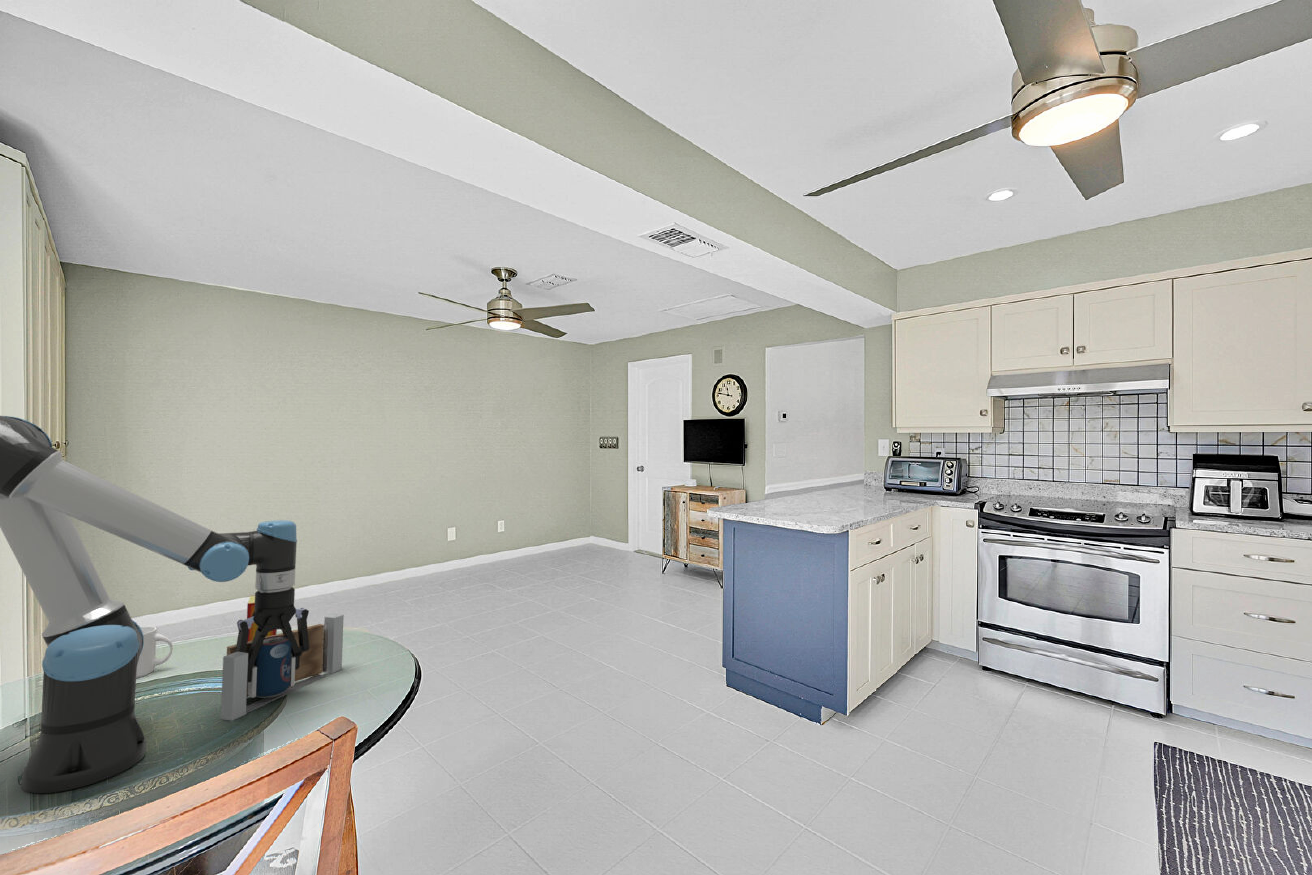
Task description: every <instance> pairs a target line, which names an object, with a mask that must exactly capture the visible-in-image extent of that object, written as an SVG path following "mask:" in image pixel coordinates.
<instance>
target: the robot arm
mask: <svg viewBox="0 0 1312 875" xmlns="http://www.w3.org/2000/svg"><path fill="white" fill-rule="evenodd" d="M72 518H73V519H76V520H77V521H80V522H83V523H85V524H87V525H90V526H92V527H95V528H96V529H97V528H98V529H99V530H102V531H104V532H107V533H109V534H111V535H112V536H113V535H114V536H116V537H119V538H120V539H123V540H126V541H128V542H130V543H133V544H135V545H137V546H139V547H142V548H144V549H147V550H149V551H151V552H153V553H156V554H159V555H161V556H163V557H165V558H168V559H170V560H172V561H175V562H177V563H179V564H181V565H184V566H185V567H187V569H188V570H190V571H196V572H199V573H201V575H203V576H204V577H205V578H206V579H209V580H210V581H212V582H216V583H225V582H230V581H233V580H235V579H237V578H239V577H241V575H243V574H244V573H245V571H247V570H246V569H247V568H248V566H253V565H254V566H255V567H256V569H255V584H254V586H255V590H257V591H255V593H254V596H255V611H254V613H253V615H252V617H251V618H248V619H247V618H246V619H238V621H237V622H236V625H237V629H238V634H237V640H236V644H235V645H236V650H235V652H243V653H246V648H247V642H248V636H249V629H250V628H251V625H252V623H253V622H254V623H255V624H256V625H257V626H258V627H257V629H256V632H255V636H254V639H253V641H252V643H251V646H250V648H249V650H248V671H247V683H248V695H249V696H248V697H250V698H251V699H252V698H257V696H256V682H257V667H256V666H255V665H254V662H255V660H256V657H257V655H258V652H259V650H260V648H261V646H262V643H263V641H264V639H265V637H266V636H267V634H268V632H270V631H273V630H275V629H277V630H281V633H283V635H284V636H285V637H286V638H289V639H288V640H289V641H290V643H291V653H292V655H291V669H290V685H289V687H290V686H294V684H296V682H295V670H296V669H299V664H300V656H301V655H302V653H303V652H305V651H308V650H309V639H308V629H307V627H308V616H309V613H310V611H309V610H308V609H307V608H305V607H301V608H296V607H295V592H296V591H295V590H296V589H295V588H294V586H295V585H296V562H297V542H298V539H297V524H296V523H295V522H294V521H292V520H284V519H282V520H267V521H261V522H259V523H258V524H257V528H256V530H252V531H246V532H245V531H244V532H242V531H241V532H225V533H224V532H223V533H221V532H220V533H218V532H216V531H213V530H211V529H210V528H207V527H206V526H205V527H204V526H203V525H202V524H199V523H197V522H195V521H192V520H190V519H188V518H186V517H184V516H181V515H180V514H178V513H175V512H173V511H171V510H169V509H167V508H165V507H163V506H161V505H159V504H156V503H154V502H152V501H150V500H149V499H146V498H144V497H142V496H140V495H137V494H135V493H133V492H131V491H129V490H127V489H126V488H123V487H120V486H119V485H117V484H115V483H112V482H110V481H108V480H106V479H104V478H102V477H99V476H97V475H96V474H94V473H91V472H89V471H87V470H85V469H83V468H81V467H78V466H76V465H75V464H72V463H70V462H69V461H66V460H64V459H63V454H62V452H61V451H60V450H58V449H56V448H53V443H52V440H51V439H50V436H49V435H48V434H47V433H46V432H45V431H44V430H43V429H42V428H41V427H39V426H37V424H35V423H33V422H32V421H31V422H30V421H28V420H26V419H23V418H20V417H15V416H7V415H0V530H1V532H2V534H3V536H4V538H5V539H6V542H7V543H8V545H9V547H10V549H11V551H12V553H13V555H14V557H15V559H16V560H17V563H18V566H19V567H20V569H21V571H22V573H23V575H24V576H25V579H26V581H27V582H28V584H29V586H30V588H31V590H32V592H33V594H34V596H35V598H36V600H37V602H38V603H39V606H40V608H41V609H42V612H43V614H44V615H45V617H46V619H47V621H48V622H47V625H46V626H45V628H44V630H43V632H42V633H41V636H42V639H43V641H44V642H45V644H46V646H47V647H46V649H45V652H44V657H43V659H42V662H41V667H42V670H43V677H42V678H43V680H42V694H41V696H42V699H41V711H40V712H41V716H40V718H41V719H40V731H39V732H40V734H39V737H38V739H37V741H36V743H35V745H34V747H33V750H32V752H31V755H30V756H29V759H28V761H27V763H26V766H25V767H24V769H23V772H22V781H21V782H22V784H21V787H22V789H23V790H24V791H25V792H28V793H33V794H48V793H51V794H53V793H60V792H64V791H65V792H66V791H69V790H75V789H77V788H78V789H79V788H82V787H86V786H89V785H90V786H91V785H92V784H95V783H98V782H101V781H104V780H107V779H109V778H111V777H114V776H116V775H119V774H121V773H123V772H124V771H126V770H128V769H130V768H131V767H133V766H134V765H136V764H137V763H139V762H140V761H141V760H142V759H143V758H144V757H145V754H146V750H147V749H146V745H147V744H146V743H147V741H146V737H145V735H144V732H143V730H142V728H141V726H140V724H139V720H138V719H137V717H136V716H137V715H136V713H135V707H136V686H137V685H136V683H137V678H136V671H137V664H138V660H139V656H140V654H141V652H142V649H143V644H144V641H143V640H144V636H143V632H142V630H141V628H140V627H141V626H140V625H138V623H137V622H136V621H134V619H133V618H132V616H130V613H129V611H128V609H127V607H126V605H125V603H124V602H123V601H120V600H114V599H113V598H110V596H109V594H108V593H107V590H106V589H105V587H104V584H103V582H102V580H101V578H100V576H99V574H98V572H97V570H96V568H95V566H94V563H93V562H92V560H91V557H90V555H89V553H88V551H87V549H86V547H85V544H84V543H83V541H82V539H81V537H80V535H79V533H78V530H77V529H76V526H75V524H74V522H73V521H72ZM294 616H295V618H296V623H297V624H296V625H297V626H296V627H297V629H298V637H299V647H298V644H297V642H296V640H295V637H294V635H293V632H292V631H293V630H292V626H291V623H290V621H291V620H292V618H294Z"/></svg>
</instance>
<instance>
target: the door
mask: <svg viewBox="0 0 1312 875" xmlns="http://www.w3.org/2000/svg"><path fill="white" fill-rule="evenodd" d="M307 629H308V639H309V650H308V651H305V652H303V653H302V655H301V656H300V664H299V669H296V670H295V683H296V682H300V681H303V680H305V679H308V678H310V677H312V676H314V675H318V674H321V675H322V674H323V673H326V671H327V650H328V623H325V622H324V623H318V624H314V625H311V626H307ZM292 632H293V635H294V637H295V640H296V642H297V644H298V647H299V637H298V628H297V629H294V630H292ZM273 636H284V635H283V632H281V633H277V635H273ZM269 637H271V636H269ZM265 638H267V637H265ZM252 641H253V640H252ZM252 641H248V642H247V648H246V653H248V650H249V648H250V646H251V643H252ZM235 650H236V644H233V645H228V646H226V655H229V654H232V653H235ZM291 655H292V653H291ZM248 697H250V696H249V695H248V683H247V696H246V698H248Z"/></svg>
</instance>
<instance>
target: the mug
mask: <svg viewBox="0 0 1312 875" xmlns="http://www.w3.org/2000/svg"><path fill="white" fill-rule="evenodd" d="M140 628H141V630H142V632H143V636H144V640H143V641H144V644H143V649H142V652H141V654H140V656H139V660H138V664H137V671H136V679H138V678H142V677H145V676H148V675H149V674H151V673H152V672H153V671H154V670H155V667H157V666H160V665H163V664H164V663H165V662H167V661H168V660H169V659H170V657H171V656H172V653H173V649H174V648H173V642H172V640H171V639H170V638H168V637H167V636H166V635H163V634H161V633H157V632H158V631H157V630H158V629H157V627H156V626H151V625H150V626H147V625H145V626H140ZM157 642H164V643H166V644H167V645H168V646H169V648H170V649H169V653H168V654H167V655H166V656H165V657H162V658H157V657H156V652H157V651H156V650H157Z"/></svg>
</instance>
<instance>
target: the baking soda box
mask: <svg viewBox="0 0 1312 875" xmlns="http://www.w3.org/2000/svg"><path fill="white" fill-rule="evenodd" d="M246 606H247V610H246V619H248V618H251V617H252V615H253V613H254V611H255V595H250V596H249V599H248V602H247V605H246ZM257 627H258V626H257V625H256V624H255V623H254V622H253V623H252V625H251V628H250V629H249V636H248V641H252V640H253V639H254V636H255V632H256V629H257ZM277 634H278V629H275V630H273V631H270V632H268V634H267V636H266V637H269V636H273V635H277Z"/></svg>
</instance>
